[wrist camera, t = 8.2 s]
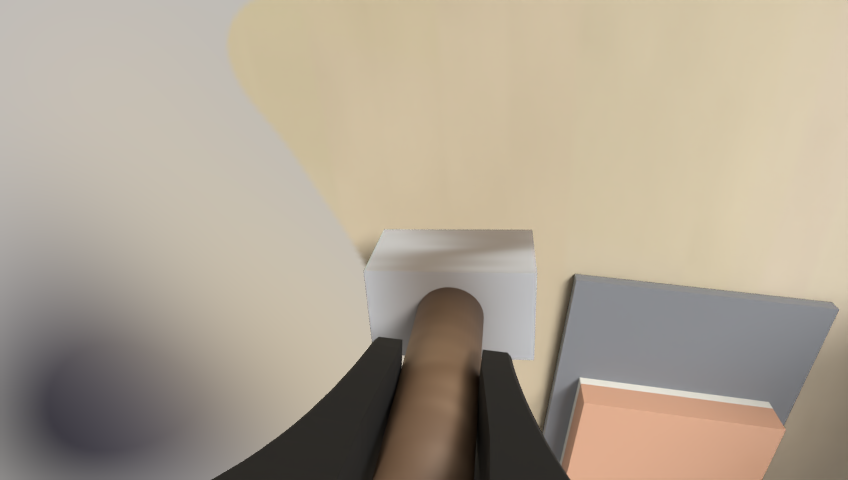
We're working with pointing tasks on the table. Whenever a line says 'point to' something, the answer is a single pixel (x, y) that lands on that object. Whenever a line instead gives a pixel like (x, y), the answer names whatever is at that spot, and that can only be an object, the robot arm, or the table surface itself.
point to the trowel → (446, 337)
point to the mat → (684, 343)
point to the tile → (667, 434)
